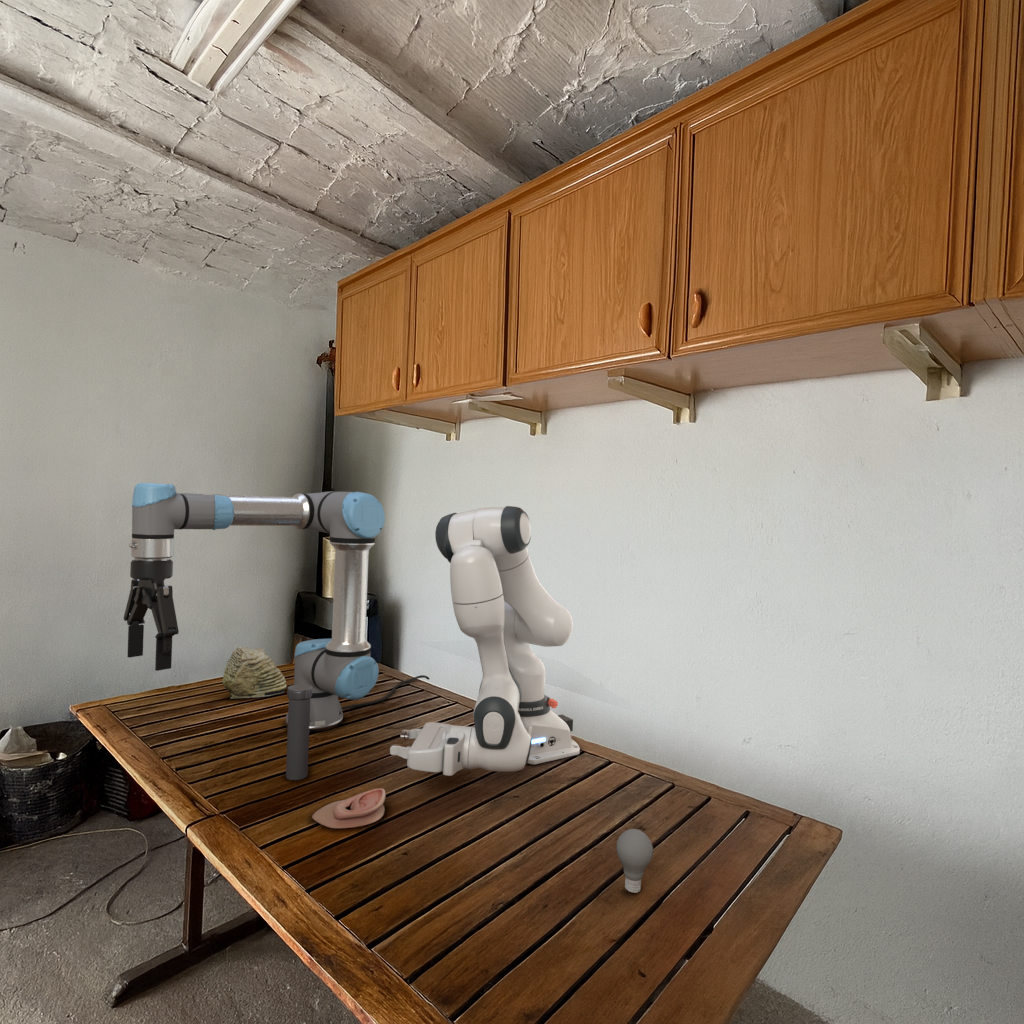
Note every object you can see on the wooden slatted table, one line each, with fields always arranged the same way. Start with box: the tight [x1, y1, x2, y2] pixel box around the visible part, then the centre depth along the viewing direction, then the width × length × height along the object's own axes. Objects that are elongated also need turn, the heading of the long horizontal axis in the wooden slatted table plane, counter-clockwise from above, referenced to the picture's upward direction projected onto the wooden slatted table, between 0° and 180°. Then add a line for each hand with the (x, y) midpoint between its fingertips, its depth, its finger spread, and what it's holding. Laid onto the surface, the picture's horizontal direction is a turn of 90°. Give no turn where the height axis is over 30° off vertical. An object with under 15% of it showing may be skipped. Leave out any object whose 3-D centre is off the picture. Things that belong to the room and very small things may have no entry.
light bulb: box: [615, 828, 654, 894], centre depth 106 cm, size 6×6×10 cm
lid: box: [286, 684, 312, 700], centre depth 143 cm, size 5×5×2 cm
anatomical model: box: [311, 787, 387, 829], centre depth 126 cm, size 13×4×12 cm
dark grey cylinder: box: [285, 697, 311, 781], centre depth 143 cm, size 5×5×20 cm
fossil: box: [222, 646, 288, 699], centre depth 198 cm, size 9×18×15 cm, turn 132°
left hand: (148, 662), depth 129 cm, fingers open, 13 cm apart
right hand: (396, 741), depth 141 cm, fingers open, 8 cm apart
